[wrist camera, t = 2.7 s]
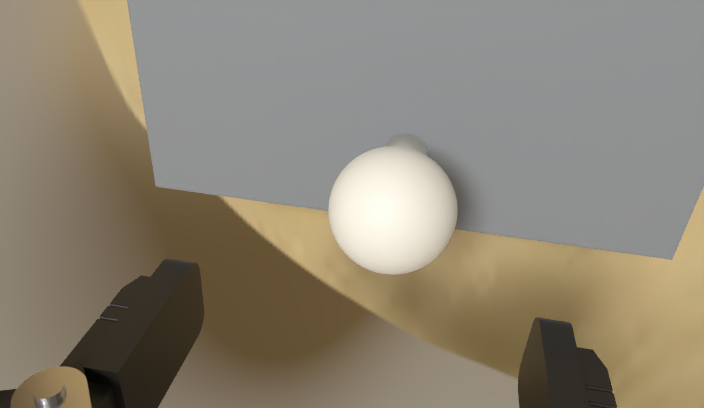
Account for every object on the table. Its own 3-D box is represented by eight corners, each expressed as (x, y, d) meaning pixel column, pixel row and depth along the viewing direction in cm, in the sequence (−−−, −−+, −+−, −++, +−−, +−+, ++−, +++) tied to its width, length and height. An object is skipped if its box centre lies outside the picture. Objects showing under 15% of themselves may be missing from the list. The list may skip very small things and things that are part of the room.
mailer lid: (934, -409, 13) (1312, -621, 7) (664, 244, 22) (730, 384, 17) (84, -407, 16) (-152, -560, 10) (166, 175, 25) (71, 274, 19)
